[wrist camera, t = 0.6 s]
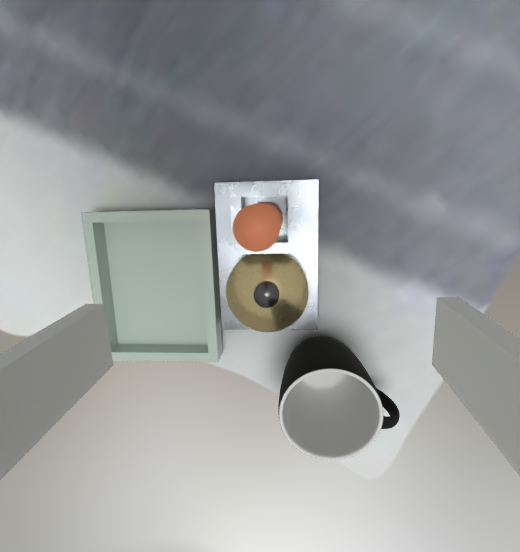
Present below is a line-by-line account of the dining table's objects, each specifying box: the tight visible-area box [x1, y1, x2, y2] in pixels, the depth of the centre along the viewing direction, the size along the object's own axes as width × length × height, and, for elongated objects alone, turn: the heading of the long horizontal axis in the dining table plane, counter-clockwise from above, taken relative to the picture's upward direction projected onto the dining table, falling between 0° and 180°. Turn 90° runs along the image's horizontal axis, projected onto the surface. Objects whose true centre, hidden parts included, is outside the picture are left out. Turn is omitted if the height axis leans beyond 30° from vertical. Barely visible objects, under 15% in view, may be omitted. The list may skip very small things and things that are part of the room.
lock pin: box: [233, 202, 283, 252], centre depth 30 cm, size 3×3×11 cm
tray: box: [81, 208, 223, 362], centre depth 38 cm, size 16×13×3 cm
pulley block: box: [214, 179, 319, 332], centre depth 36 cm, size 15×10×6 cm, turn 1°
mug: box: [279, 337, 399, 461], centre depth 36 cm, size 12×9×10 cm
